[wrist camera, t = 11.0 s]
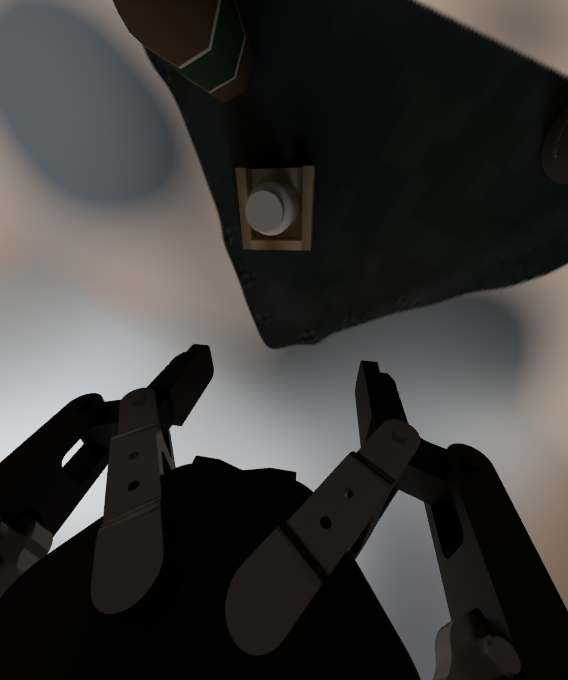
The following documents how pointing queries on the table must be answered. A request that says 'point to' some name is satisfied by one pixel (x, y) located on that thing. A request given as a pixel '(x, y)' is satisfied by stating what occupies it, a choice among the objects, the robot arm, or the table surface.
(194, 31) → the beer bottle
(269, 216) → the supplement bottle
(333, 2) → the table surface
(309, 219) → the u holder
